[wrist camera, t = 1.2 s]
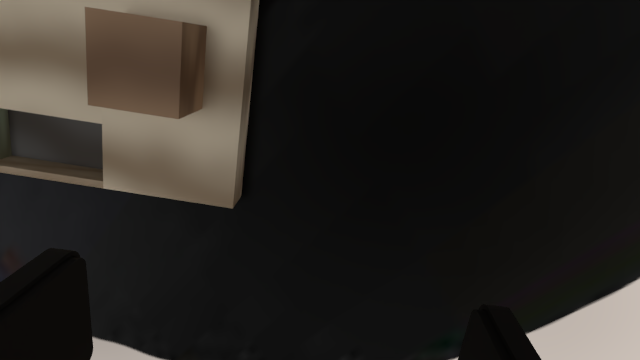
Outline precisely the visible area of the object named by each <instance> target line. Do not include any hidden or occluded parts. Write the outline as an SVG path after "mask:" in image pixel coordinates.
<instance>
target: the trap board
mask: <svg viewBox="0 0 640 360" xmlns="http://www.w3.org/2000/svg"><path fill="white" fill-rule="evenodd" d="M85 7H90V8H97V9H103V10H109V11H116V12H122V13H129V14H135V15H141V16H148V17H154V18H161V19H167V20H174V21H180V22H186V23H192V24H198V25H204V26H207V34H206V52H205V69H204V87H203V104H202V109H201V110H199V111H196V112H194V113H192V114H190V115H187V116H185V117H183V118H180V119H174V118H167V117H161V116H154V115H148V114H142V113H135V112H129V111H122V110H116V109H109V108H103V107H97V106H90V105H88V97H87V64H86V32H85ZM258 10H259V0H0V172H1V173H8V174H14V175H21V176H27V177H34V178H40V179H46V180H53V181H59V182H66V183H72V184H79V185H85V186H92V187H98V188H104V189H111V190H117V191H124V192H130V193H137V194H143V195H149V196H156V197H162V198H169V199H175V200H182V201H188V202H195V203H201V204H207V205H214V206H220V207H227V208H233V207H234V206H235V204H236V203H237V201H238V200H239V198H240V197H241V193H242V182H243V171H244V160H245V150H246V139H247V128H248V118H249V107H250V96H251V85H252V75H253V64H254V53H255V43H256V32H257V21H258Z"/></svg>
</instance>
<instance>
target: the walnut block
mask: <svg viewBox="0 0 640 360" xmlns="http://www.w3.org/2000/svg"><path fill="white" fill-rule="evenodd" d="M85 32H86V64H87V97H88V105H90V106H97V107H103V108H109V109H116V110H122V111H129V112H135V113H142V114H148V115H154V116H161V117H167V118H174V119H180V118H183V117H185V116H187V115H190V114H192V113H194V112H196V111H199V110H201V109H202V104H203V87H204V69H205V52H206V34H207V26H204V25H198V24H192V23H186V22H180V21H174V20H167V19H161V18H154V17H148V16H141V15H135V14H129V13H122V12H116V11H109V10H103V9H97V8H90V7H85Z"/></svg>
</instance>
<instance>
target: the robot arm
mask: <svg viewBox="0 0 640 360" xmlns="http://www.w3.org/2000/svg"><path fill="white" fill-rule="evenodd" d="M92 352H93V342H92V330H91V318H90V306H89V295H88V283H87V271H86V263H85V260H84V259H83V258H80V255H79V254H78V252H76V251H71V250H63V249H55V248H50V249H48V250H46V251H44V252H43V253H41V254H40V255H39V256H37V257H36V258H34V259H33V260H31V261H30V262H29V263H27V264H26V265H24V266H23V267H21V268H20V269H19V270H17V271H16V272H14V273H13V274H12V275H10V276H9V277H7V278H6V279H4V280H3V281H2V282H0V360H90V358H91V356H92ZM458 360H541V358H540V357H539V355H538V354H537V352H536V350H535V349H534V347H533V346H532V344H531V342H530V341H529V339H528V337H527V336H526V334H525V333H524V331H523V329H522V328H521V326H520V325H519V323H518V321H517V320H516V318H515V316H514V315H513V313H512V312H511V310H510V309H509V308H507V307H501V306H493V305H485V304H483V305H481V306H480V308H479V310H473V311H472V313H471V315H470V319H469V322H468V326H467V329H466V333H465V336H464V340H463V344H462V347H461V351H460V354H459V358H458Z"/></svg>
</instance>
